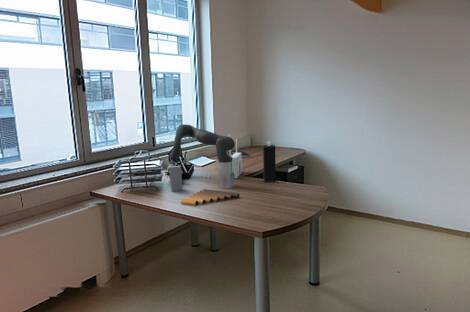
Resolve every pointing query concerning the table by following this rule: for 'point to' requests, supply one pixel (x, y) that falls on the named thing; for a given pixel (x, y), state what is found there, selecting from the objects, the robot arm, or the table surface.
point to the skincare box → (237, 164)
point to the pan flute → (208, 197)
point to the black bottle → (269, 162)
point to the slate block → (176, 178)
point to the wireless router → (237, 151)
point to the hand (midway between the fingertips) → (174, 175)
